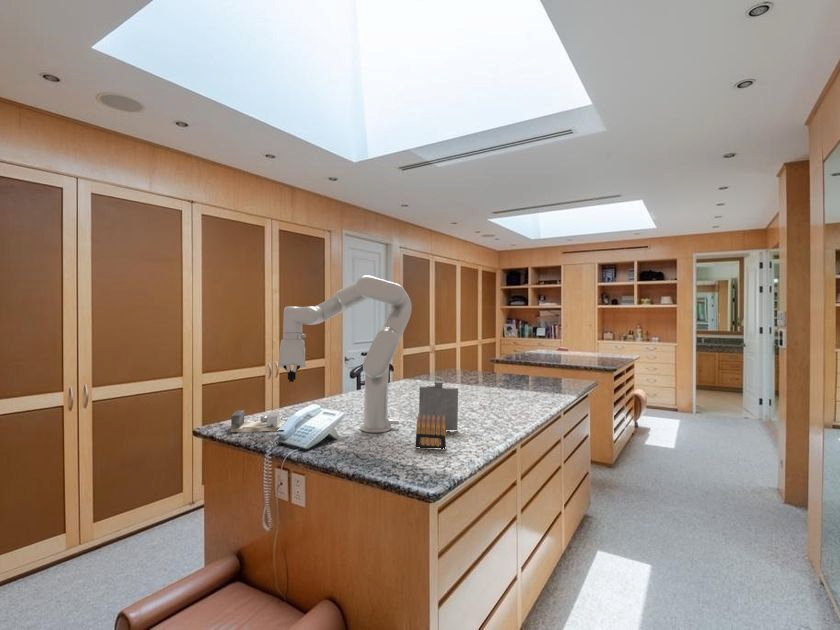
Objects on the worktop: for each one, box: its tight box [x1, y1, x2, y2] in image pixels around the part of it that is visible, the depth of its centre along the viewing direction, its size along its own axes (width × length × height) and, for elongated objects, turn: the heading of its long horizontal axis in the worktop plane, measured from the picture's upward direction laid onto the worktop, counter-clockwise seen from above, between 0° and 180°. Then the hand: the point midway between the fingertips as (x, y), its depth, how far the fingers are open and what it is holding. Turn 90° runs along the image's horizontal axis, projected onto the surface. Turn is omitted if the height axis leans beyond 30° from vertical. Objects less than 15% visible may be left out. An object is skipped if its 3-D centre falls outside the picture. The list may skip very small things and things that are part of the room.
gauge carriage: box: [260, 411, 281, 427], centre depth 174 cm, size 6×9×4 cm
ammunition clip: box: [414, 413, 447, 449], centre depth 153 cm, size 11×2×12 cm, turn 81°
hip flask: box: [418, 381, 459, 431], centre depth 177 cm, size 16×4×20 cm, turn 80°
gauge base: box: [230, 410, 286, 433], centre depth 174 cm, size 20×10×6 cm, turn 101°
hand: (291, 381), depth 176 cm, fingers closed
